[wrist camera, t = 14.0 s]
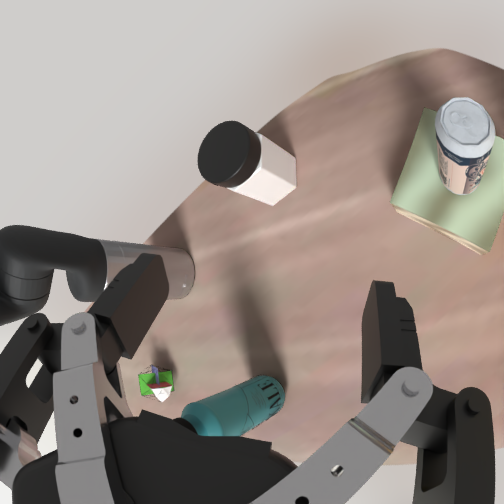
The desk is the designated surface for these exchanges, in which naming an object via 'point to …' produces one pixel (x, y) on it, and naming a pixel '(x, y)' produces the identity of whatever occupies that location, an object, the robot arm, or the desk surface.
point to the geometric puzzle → (156, 383)
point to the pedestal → (450, 193)
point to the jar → (246, 163)
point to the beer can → (463, 144)
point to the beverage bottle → (234, 408)
